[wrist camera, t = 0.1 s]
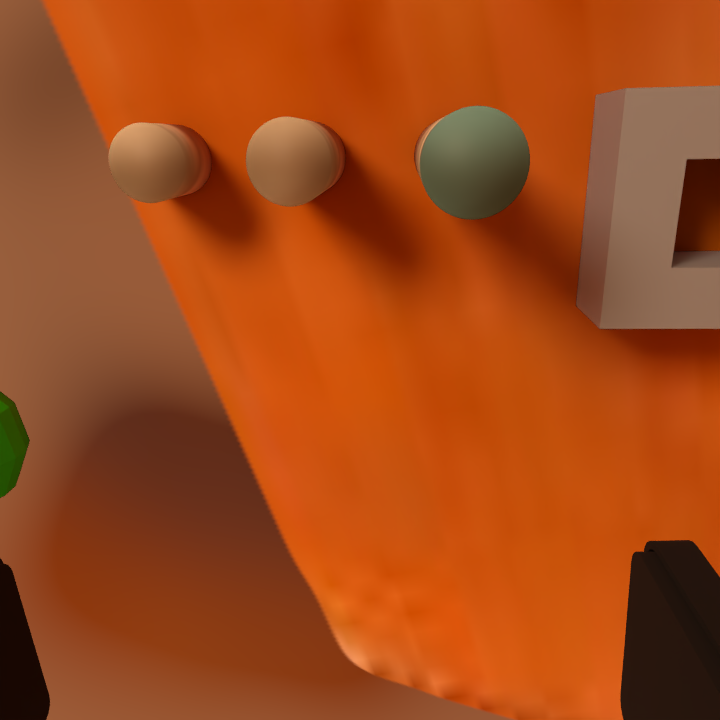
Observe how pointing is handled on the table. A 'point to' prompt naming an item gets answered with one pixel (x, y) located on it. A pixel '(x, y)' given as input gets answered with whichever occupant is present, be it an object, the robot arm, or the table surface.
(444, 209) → the long dowel
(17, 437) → the plastic bottle
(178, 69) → the table surface
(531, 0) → the table surface
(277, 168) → the medium dowel
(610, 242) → the socket block
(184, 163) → the short dowel
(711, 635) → the robot arm
